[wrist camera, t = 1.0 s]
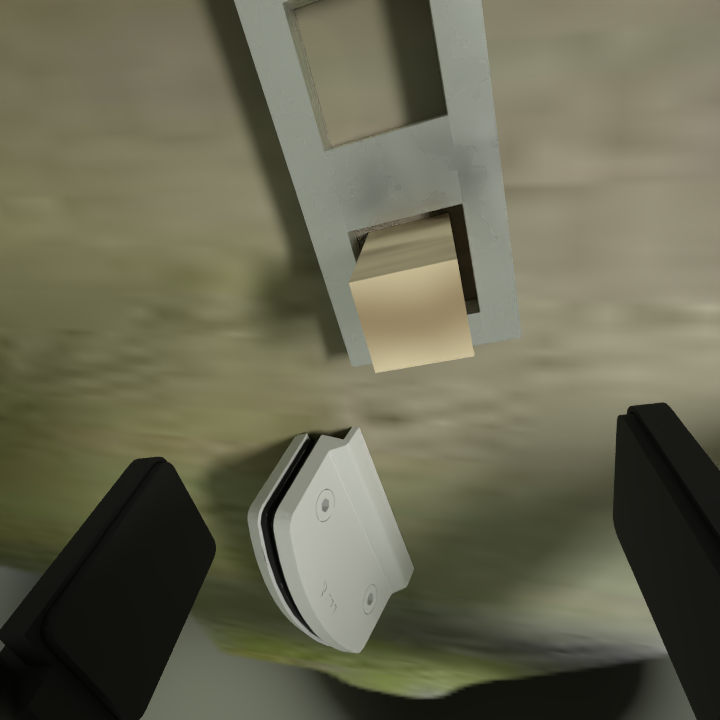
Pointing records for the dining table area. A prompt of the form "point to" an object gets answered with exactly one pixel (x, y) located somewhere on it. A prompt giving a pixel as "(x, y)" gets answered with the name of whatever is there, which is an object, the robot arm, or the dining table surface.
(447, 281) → the peg
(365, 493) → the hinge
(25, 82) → the dining table surface
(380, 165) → the rail
